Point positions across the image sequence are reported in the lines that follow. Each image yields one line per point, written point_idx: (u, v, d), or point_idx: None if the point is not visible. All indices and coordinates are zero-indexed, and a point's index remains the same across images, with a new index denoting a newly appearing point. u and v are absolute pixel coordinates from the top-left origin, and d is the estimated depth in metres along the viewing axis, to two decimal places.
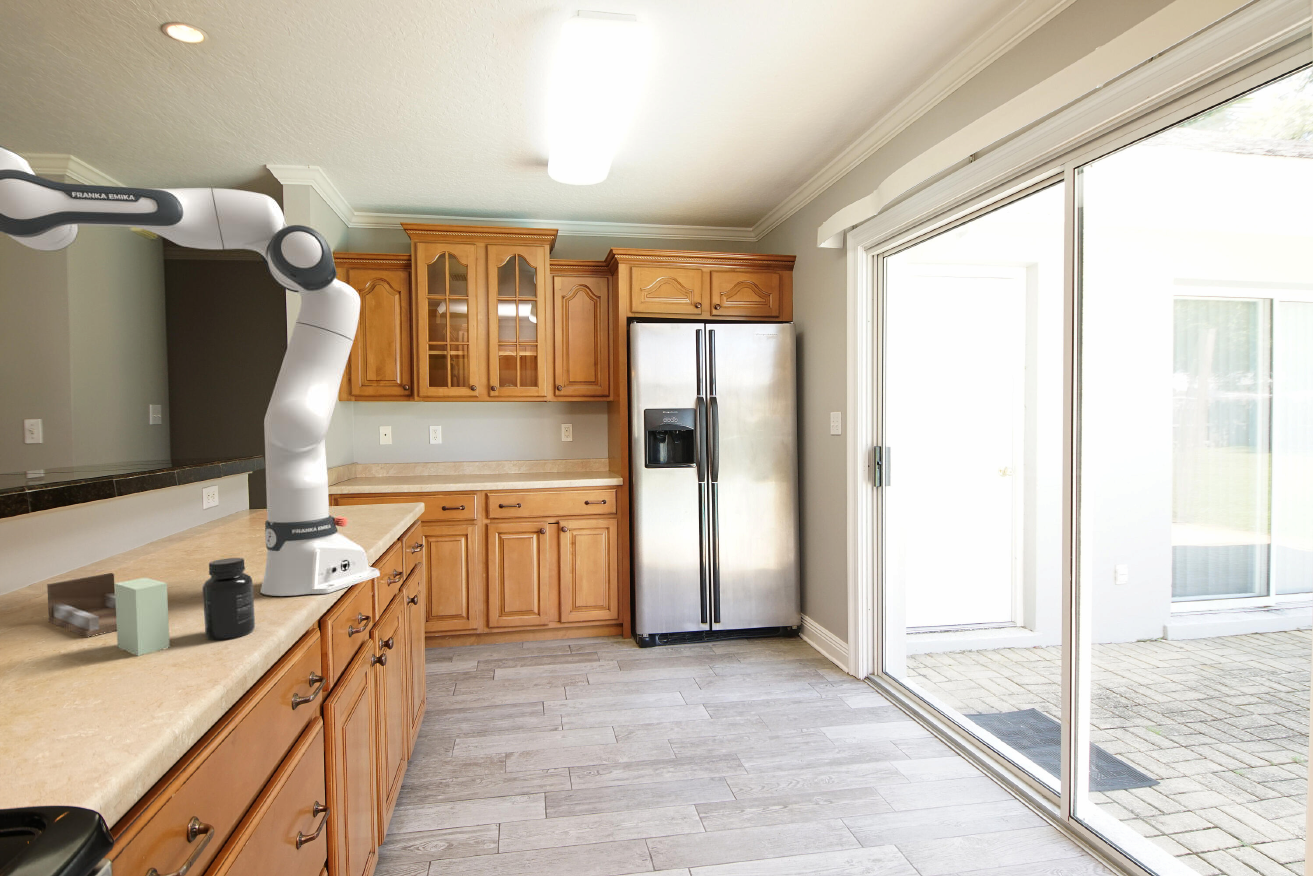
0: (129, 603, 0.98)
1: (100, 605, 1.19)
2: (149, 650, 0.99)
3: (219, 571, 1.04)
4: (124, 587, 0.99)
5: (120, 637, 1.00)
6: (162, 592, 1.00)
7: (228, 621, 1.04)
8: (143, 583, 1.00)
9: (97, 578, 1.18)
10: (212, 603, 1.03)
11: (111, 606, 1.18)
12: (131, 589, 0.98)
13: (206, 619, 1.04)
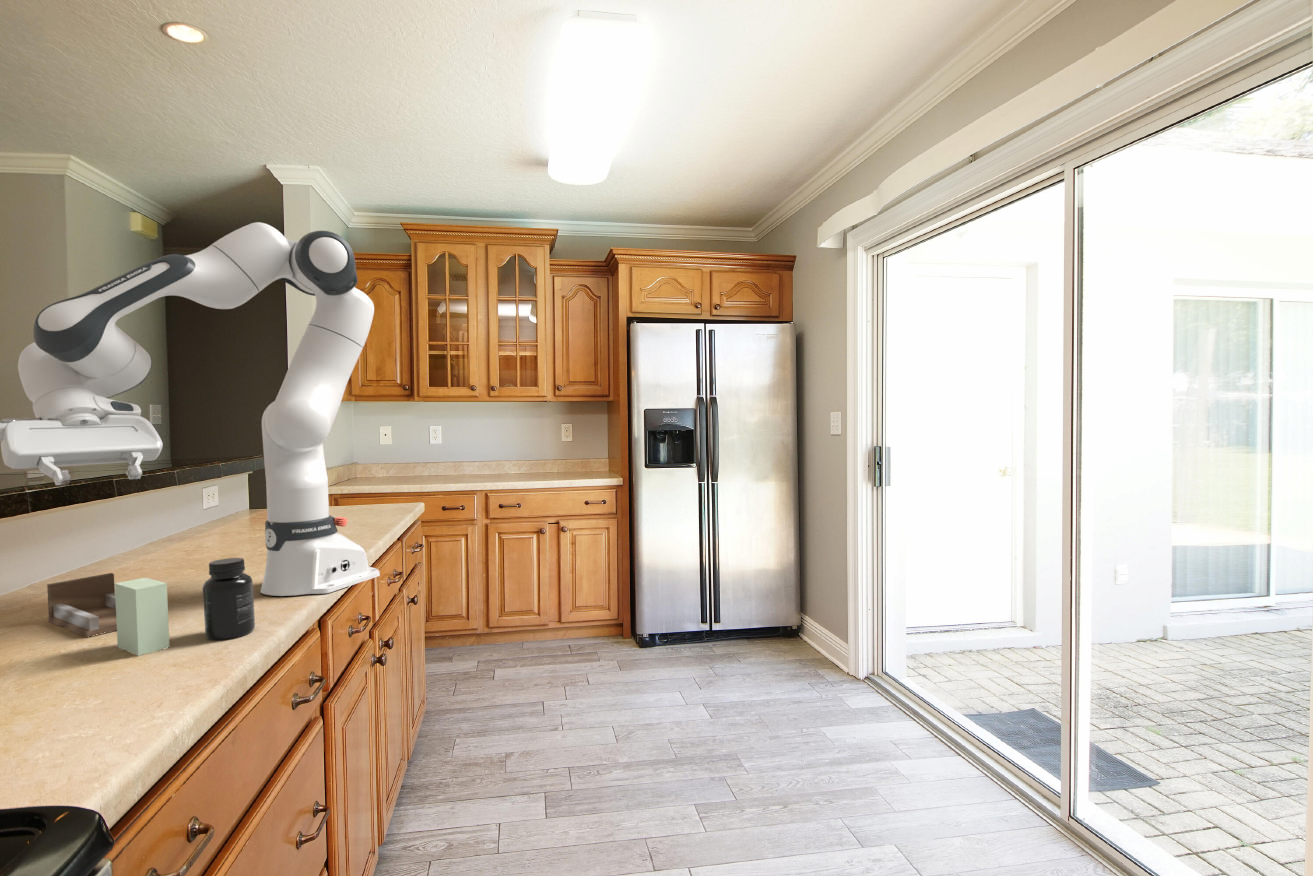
0: (129, 603, 0.98)
1: (100, 605, 1.19)
2: (149, 650, 0.99)
3: (219, 571, 1.04)
4: (124, 587, 0.99)
5: (120, 637, 1.00)
6: (162, 592, 1.00)
7: (228, 621, 1.04)
8: (143, 583, 1.00)
9: (97, 578, 1.18)
10: (212, 603, 1.03)
11: (111, 606, 1.18)
12: (131, 589, 0.98)
13: (206, 619, 1.04)
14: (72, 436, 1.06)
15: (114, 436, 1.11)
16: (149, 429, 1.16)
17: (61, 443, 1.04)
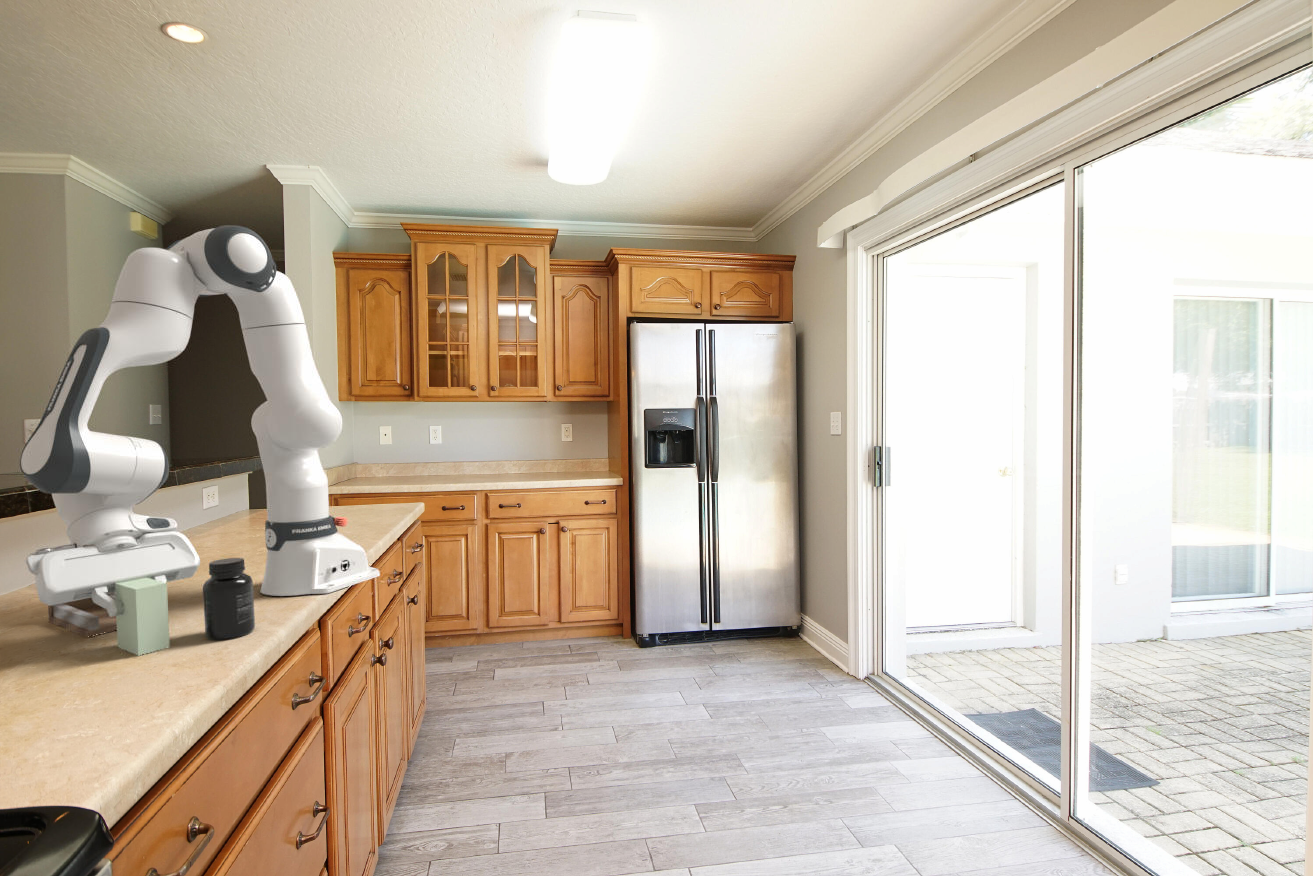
0: (129, 603, 0.98)
1: None
2: (149, 650, 0.99)
3: (219, 571, 1.04)
4: (124, 587, 0.99)
5: (120, 637, 1.00)
6: (162, 592, 1.00)
7: (228, 621, 1.04)
8: (143, 583, 1.00)
9: None
10: (212, 603, 1.03)
11: None
12: (131, 589, 0.98)
13: (206, 619, 1.04)
14: (109, 563, 1.01)
15: (151, 558, 1.06)
16: (186, 545, 1.11)
17: (98, 573, 0.99)
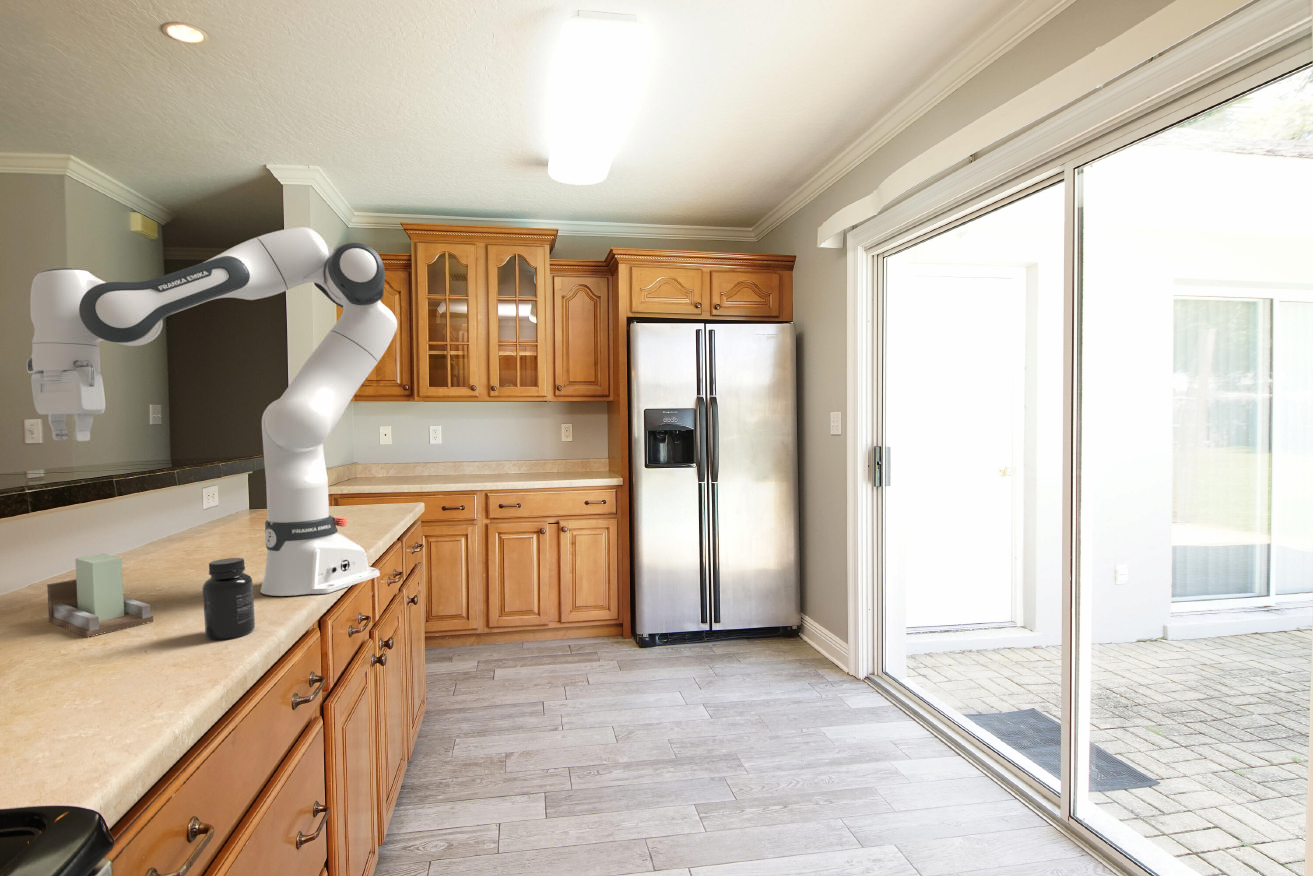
0: (87, 575, 1.11)
1: None
2: (105, 617, 1.11)
3: (219, 571, 1.04)
4: (83, 561, 1.12)
5: (80, 606, 1.13)
6: (117, 566, 1.13)
7: (228, 621, 1.04)
8: (100, 558, 1.13)
9: None
10: (212, 603, 1.03)
11: None
12: (89, 563, 1.10)
13: (206, 619, 1.04)
14: None
15: None
16: None
17: None
